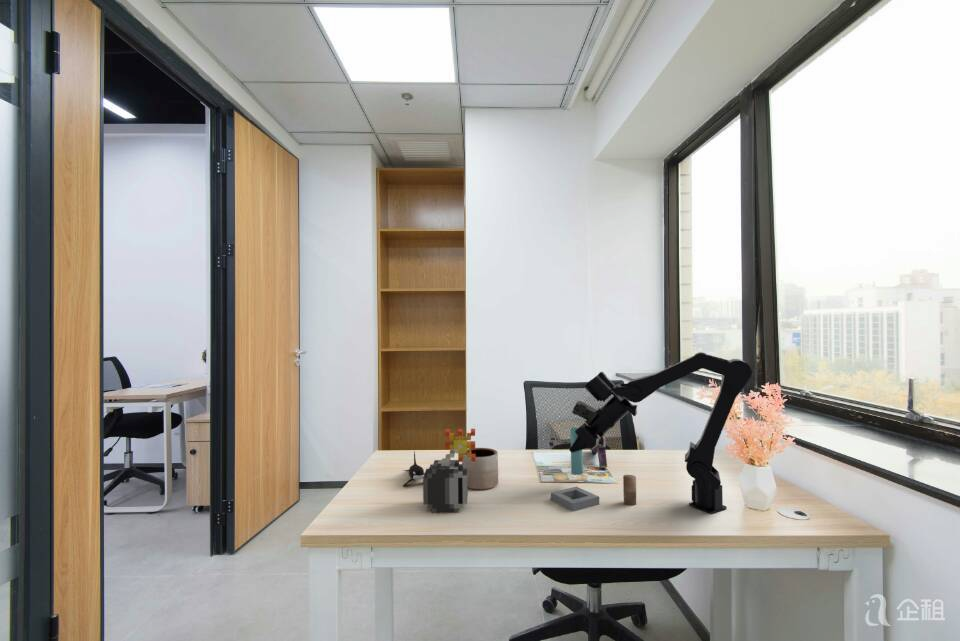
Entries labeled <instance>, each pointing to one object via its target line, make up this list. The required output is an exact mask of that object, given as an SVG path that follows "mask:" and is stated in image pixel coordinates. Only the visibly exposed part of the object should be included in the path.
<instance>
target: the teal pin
mask: <svg viewBox="0 0 960 641" xmlns="http://www.w3.org/2000/svg"><path fill="white" fill-rule="evenodd" d="M579 427H580V426H571V427H570V447H571V446H572V445H573V443H574V442H575V440H576V439H577V437H578V435H577V434H576V433H575V431H576V430H577V429H578V428H579ZM570 467H571V468H570V471H571V474H572V475H575V476H581V475H583V474H584V473H583V471H584V470H583V449H582V450H579V451H575V452H570Z"/></svg>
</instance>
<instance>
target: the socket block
mask: <svg viewBox="0 0 960 641" xmlns="http://www.w3.org/2000/svg"><path fill="white" fill-rule="evenodd" d="M574 498H575V499H574ZM550 501H552V502H554V503H556V504H558V505H560V506H562V507H563V508H566V509H567V510H569V511H571V512H576V511H579V510H583V509H587V508H591V507H595V506H597V505H600V496H599V495H596V494H594V493H592V492H589V491H588V490H585V489H584V488H581V487H580V486H572V487H568V488H564V489H559V490H555V491H551V492H550Z"/></svg>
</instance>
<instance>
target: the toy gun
mask: <svg viewBox="0 0 960 641" xmlns="http://www.w3.org/2000/svg"><path fill="white" fill-rule="evenodd" d="M598 437H599V442H598V443H597V445H596V446H595V447H593V448H592V449H590V448H589V450H590V452H591V454H597V458H598V464H599V467H598V468H599V469H601V468H602V469H603V468H604V469H605V468H606V469H607V468H608V461H607V451H606V437H605V436H604V435H603V436H602V437H600V436H599V435H598Z"/></svg>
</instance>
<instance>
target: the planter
mask: <svg viewBox="0 0 960 641" xmlns="http://www.w3.org/2000/svg"><path fill="white" fill-rule="evenodd" d="M467 450H471V454H475V462H471V457H467V453H463V462H461V464H463V468H467V477H468V489H469V490H473V491H475V490H476V491H484V490H485V491H486V490H491V489H494V488H495V487H496V486H498V484H499V453H498V450H496V449H493V448H489V447H475V449H467Z"/></svg>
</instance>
